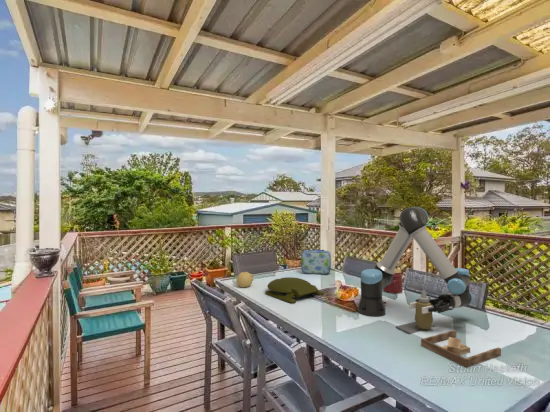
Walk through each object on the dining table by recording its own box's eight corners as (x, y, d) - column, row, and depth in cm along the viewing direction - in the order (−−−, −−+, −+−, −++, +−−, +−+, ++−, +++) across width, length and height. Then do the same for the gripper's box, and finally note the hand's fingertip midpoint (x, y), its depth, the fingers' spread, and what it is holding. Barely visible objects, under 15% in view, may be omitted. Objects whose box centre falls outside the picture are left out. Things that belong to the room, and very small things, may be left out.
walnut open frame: (454, 338, 146) (454, 330, 146) (500, 358, 128) (501, 348, 128) (421, 348, 137) (421, 339, 137) (466, 370, 119) (466, 360, 119)
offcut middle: (440, 351, 131) (440, 346, 131) (460, 347, 135) (460, 342, 135) (449, 356, 127) (449, 351, 127) (470, 352, 130) (470, 347, 130)
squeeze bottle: (411, 324, 158) (411, 288, 158) (427, 323, 159) (427, 287, 158) (420, 331, 150) (420, 293, 150) (436, 330, 151) (436, 292, 150)
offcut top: (447, 351, 128) (447, 346, 128) (449, 341, 136) (449, 336, 136) (460, 353, 125) (460, 348, 125) (460, 343, 134) (460, 339, 134)
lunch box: (331, 272, 281) (331, 248, 281) (331, 275, 271) (331, 250, 270) (301, 271, 286) (301, 248, 285) (300, 274, 275) (300, 250, 275)
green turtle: (325, 295, 215) (325, 281, 215) (291, 305, 196) (291, 289, 196) (291, 284, 242) (291, 272, 242) (258, 292, 223) (258, 278, 223)
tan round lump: (255, 285, 240) (255, 271, 239) (245, 289, 229) (245, 274, 229) (243, 283, 246) (243, 269, 246) (233, 287, 236) (233, 272, 235)
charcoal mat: (421, 321, 166) (421, 320, 166) (453, 334, 150) (453, 333, 150) (395, 327, 159) (395, 326, 159) (426, 342, 142) (426, 340, 142)
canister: (402, 289, 227) (402, 264, 226) (403, 294, 214) (403, 268, 214) (383, 287, 231) (382, 263, 231) (382, 292, 219) (382, 267, 218)
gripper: (467, 314, 153) (434, 323, 143) (431, 303, 171) (400, 309, 161) (467, 299, 153) (434, 306, 143) (431, 289, 171) (400, 295, 161)
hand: (416, 308), depth 152 cm, fingers closed on squeeze bottle, 6 cm apart
